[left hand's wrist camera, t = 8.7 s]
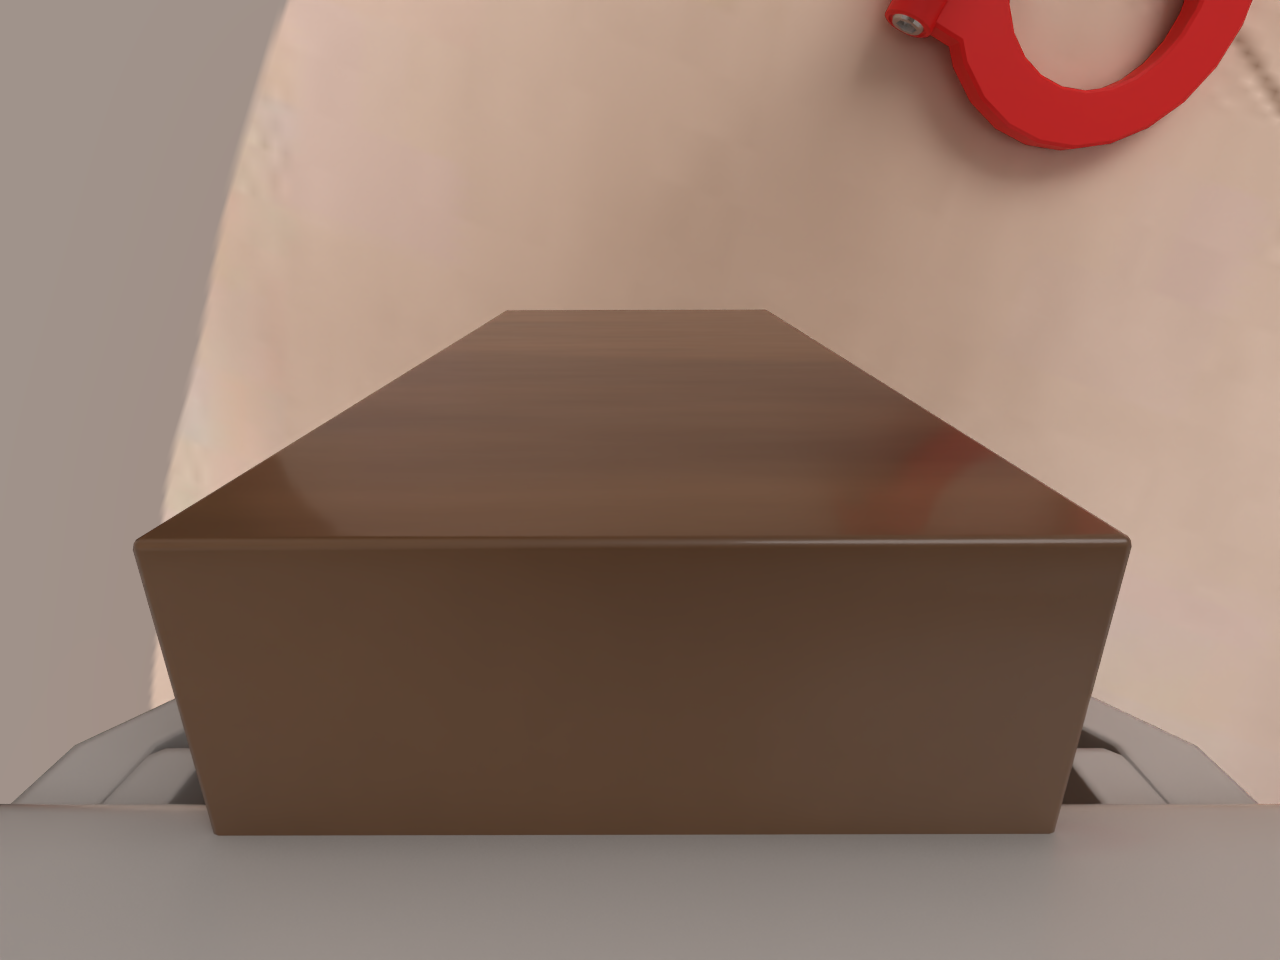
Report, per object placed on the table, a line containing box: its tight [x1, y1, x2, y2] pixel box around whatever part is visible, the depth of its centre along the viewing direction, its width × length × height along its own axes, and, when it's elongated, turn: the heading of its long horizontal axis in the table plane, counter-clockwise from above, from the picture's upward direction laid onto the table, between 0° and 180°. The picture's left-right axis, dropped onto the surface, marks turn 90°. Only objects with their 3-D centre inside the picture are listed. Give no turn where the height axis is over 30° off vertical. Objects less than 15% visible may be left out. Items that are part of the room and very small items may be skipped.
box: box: [133, 310, 1131, 836], centre depth 13 cm, size 22×6×12 cm, turn 0°
